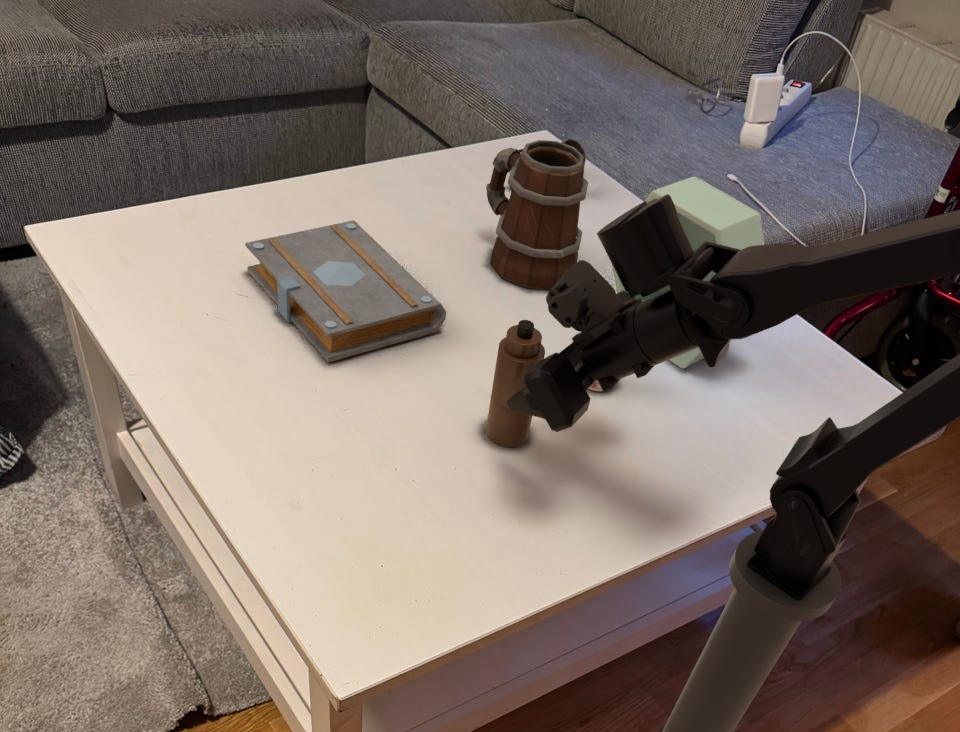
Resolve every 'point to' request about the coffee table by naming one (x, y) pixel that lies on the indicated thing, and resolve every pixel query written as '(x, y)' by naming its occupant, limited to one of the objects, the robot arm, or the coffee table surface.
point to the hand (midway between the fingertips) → (531, 384)
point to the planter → (706, 229)
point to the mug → (537, 212)
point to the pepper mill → (512, 383)
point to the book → (343, 290)
